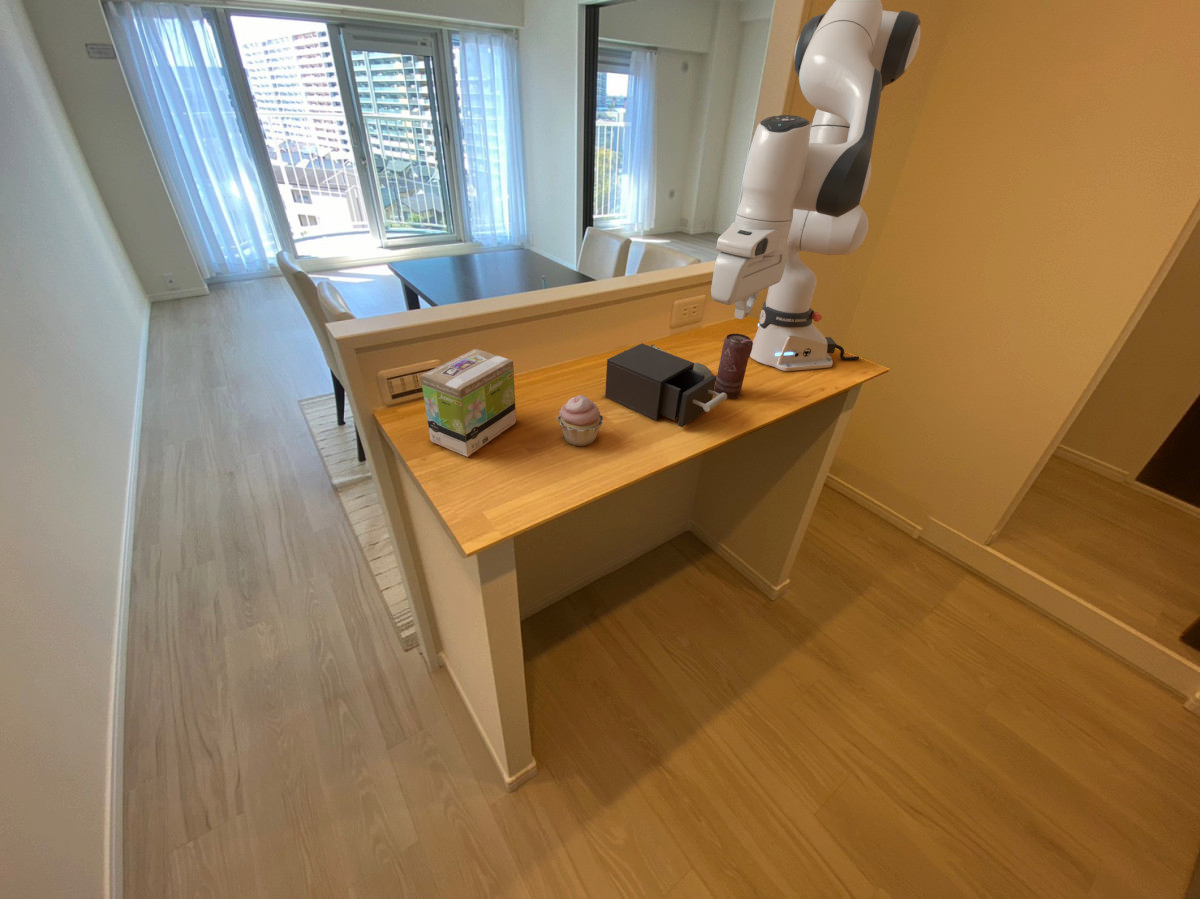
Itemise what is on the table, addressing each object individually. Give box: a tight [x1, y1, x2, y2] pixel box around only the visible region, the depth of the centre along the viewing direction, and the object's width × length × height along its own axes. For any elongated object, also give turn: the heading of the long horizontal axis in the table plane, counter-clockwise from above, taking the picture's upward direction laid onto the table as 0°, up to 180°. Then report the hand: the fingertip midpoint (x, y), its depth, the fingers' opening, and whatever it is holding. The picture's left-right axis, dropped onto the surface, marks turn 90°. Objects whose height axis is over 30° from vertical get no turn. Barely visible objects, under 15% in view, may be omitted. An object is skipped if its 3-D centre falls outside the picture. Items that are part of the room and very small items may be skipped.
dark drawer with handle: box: [659, 369, 728, 428], centre depth 106 cm, size 18×11×8 cm, turn 49°
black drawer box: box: [604, 343, 695, 422], centre depth 111 cm, size 15×13×10 cm
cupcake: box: [556, 394, 604, 447], centre depth 96 cm, size 9×9×10 cm
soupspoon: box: [649, 344, 713, 380], centre depth 128 cm, size 22×3×7 cm
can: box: [714, 333, 753, 400], centre depth 113 cm, size 6×6×14 cm
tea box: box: [420, 348, 517, 458], centre depth 95 cm, size 15×10×15 cm, turn 151°
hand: (742, 316), depth 89 cm, fingers closed
